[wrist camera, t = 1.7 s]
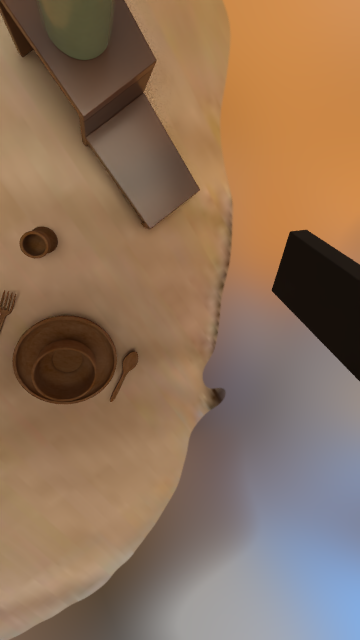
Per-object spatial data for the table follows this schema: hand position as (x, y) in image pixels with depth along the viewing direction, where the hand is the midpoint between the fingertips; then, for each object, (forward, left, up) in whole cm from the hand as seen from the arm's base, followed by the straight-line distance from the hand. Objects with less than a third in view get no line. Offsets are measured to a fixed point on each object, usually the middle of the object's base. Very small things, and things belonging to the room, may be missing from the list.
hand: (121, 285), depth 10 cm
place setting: (+7, -9, -26) cm, 28 cm away
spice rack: (-7, +8, -26) cm, 28 cm away
